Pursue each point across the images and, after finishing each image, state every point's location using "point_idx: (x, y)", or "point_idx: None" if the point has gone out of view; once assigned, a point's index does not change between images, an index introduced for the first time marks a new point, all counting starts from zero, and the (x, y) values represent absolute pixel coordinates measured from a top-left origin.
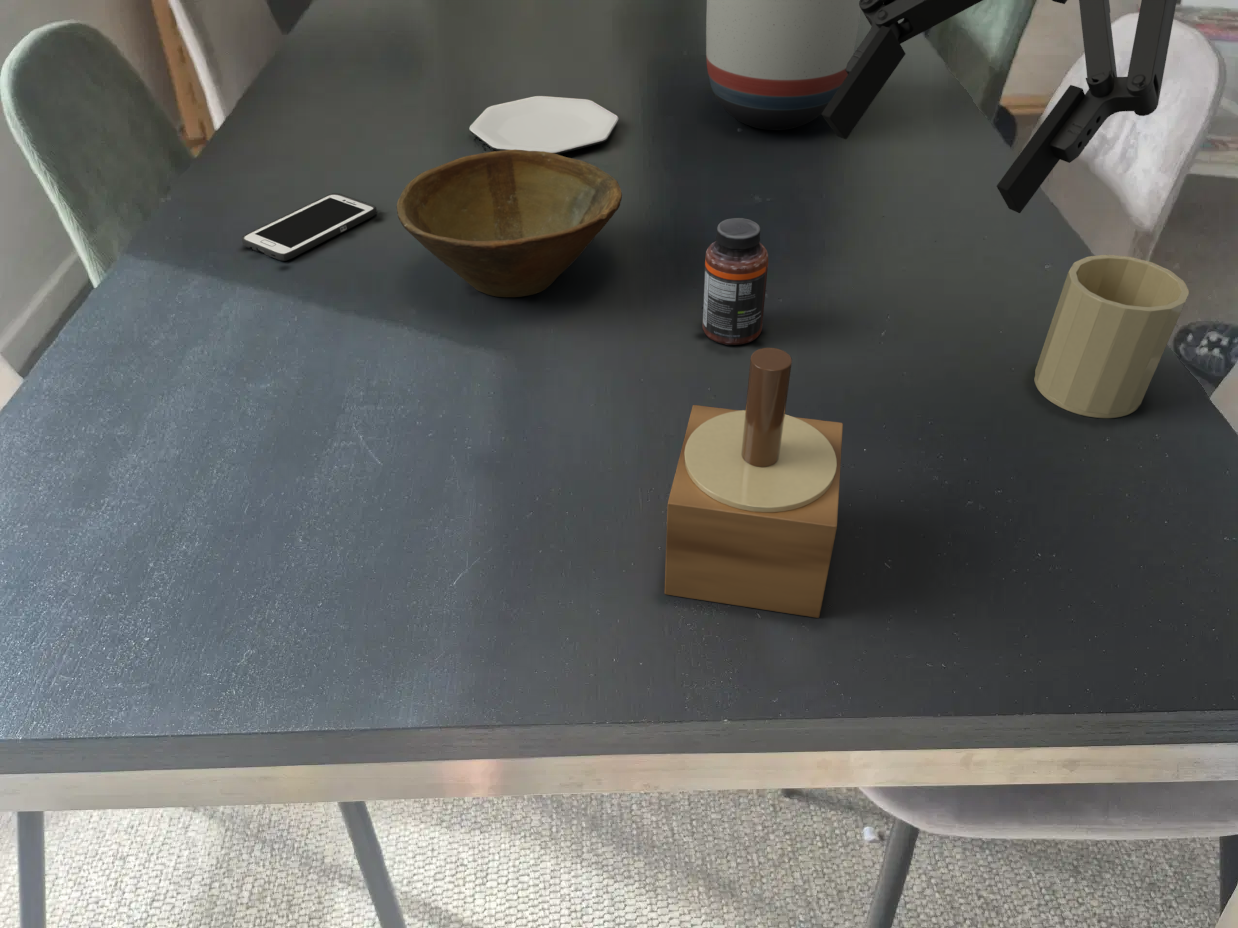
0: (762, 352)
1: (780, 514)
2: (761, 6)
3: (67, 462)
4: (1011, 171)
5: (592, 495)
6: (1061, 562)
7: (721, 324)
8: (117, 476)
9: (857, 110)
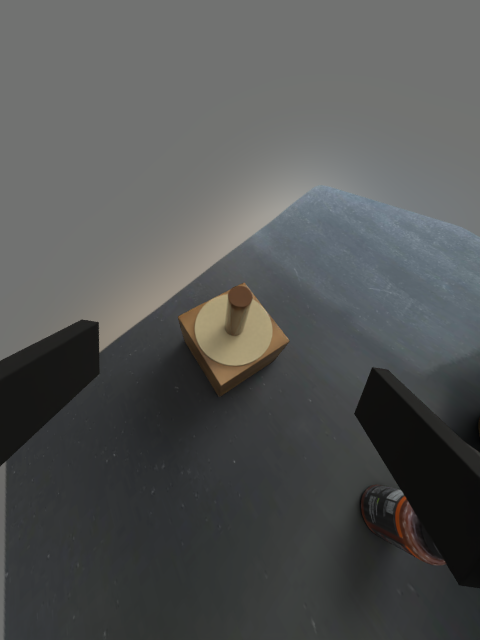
0: (248, 297)
1: (202, 306)
2: None
3: (424, 227)
4: (78, 328)
5: (301, 330)
6: (101, 458)
7: (379, 488)
8: (409, 232)
9: (377, 427)
